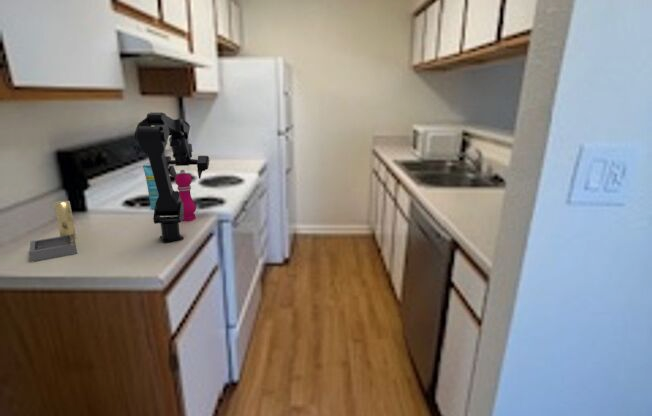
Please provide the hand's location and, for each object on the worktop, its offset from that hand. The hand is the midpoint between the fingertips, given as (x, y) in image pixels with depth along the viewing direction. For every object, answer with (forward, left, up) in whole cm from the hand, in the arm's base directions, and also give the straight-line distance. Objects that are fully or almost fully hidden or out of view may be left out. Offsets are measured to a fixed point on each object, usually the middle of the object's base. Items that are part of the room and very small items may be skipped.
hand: (188, 178), depth 157 cm
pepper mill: (-7, +4, -15) cm, 17 cm away
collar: (-19, +48, -15) cm, 53 cm away
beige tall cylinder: (-7, +44, -15) cm, 47 cm away
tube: (+18, +10, -15) cm, 25 cm away
